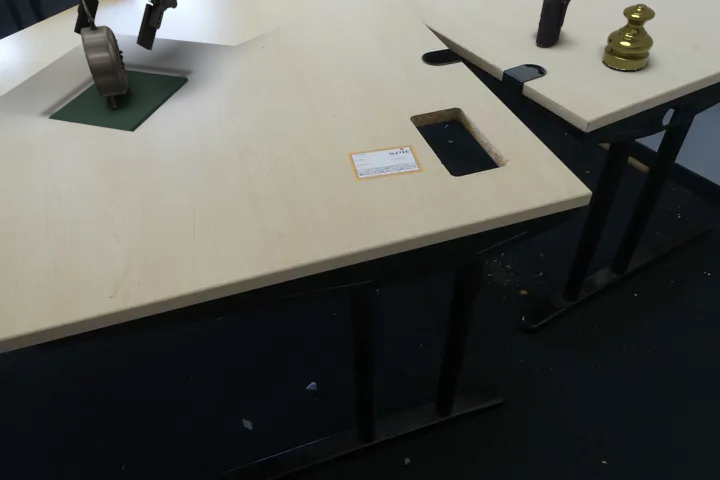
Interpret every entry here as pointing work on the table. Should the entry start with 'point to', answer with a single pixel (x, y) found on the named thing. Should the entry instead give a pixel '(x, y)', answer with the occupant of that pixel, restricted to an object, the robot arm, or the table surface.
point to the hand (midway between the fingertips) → (112, 41)
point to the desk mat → (122, 102)
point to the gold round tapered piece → (630, 40)
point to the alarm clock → (104, 59)
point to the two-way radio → (551, 21)
